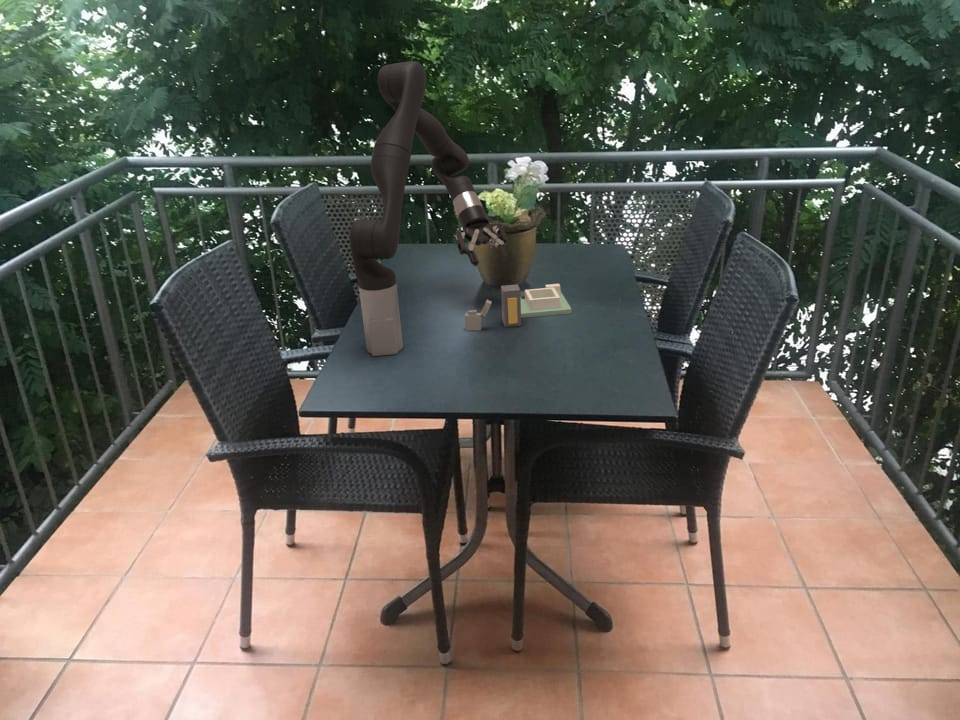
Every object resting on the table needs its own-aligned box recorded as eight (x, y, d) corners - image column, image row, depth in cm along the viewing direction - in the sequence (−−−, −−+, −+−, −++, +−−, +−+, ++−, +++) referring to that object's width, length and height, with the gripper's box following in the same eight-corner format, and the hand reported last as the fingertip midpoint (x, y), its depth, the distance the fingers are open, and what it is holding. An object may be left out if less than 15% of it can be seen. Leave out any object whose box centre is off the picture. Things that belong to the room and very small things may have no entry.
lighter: (465, 330, 204) (464, 302, 201) (466, 328, 206) (464, 300, 202) (492, 329, 204) (491, 301, 200) (492, 327, 205) (491, 299, 202)
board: (571, 313, 211) (571, 298, 209) (521, 317, 210) (520, 303, 208) (559, 293, 226) (559, 279, 224) (512, 297, 225) (511, 284, 223)
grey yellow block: (521, 326, 205) (520, 290, 201) (504, 327, 205) (503, 292, 200) (518, 319, 209) (517, 284, 205) (502, 320, 209) (500, 285, 205)
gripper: (450, 208, 209) (471, 259, 204) (496, 200, 214) (518, 250, 209) (443, 223, 215) (463, 273, 211) (489, 215, 221) (509, 263, 216)
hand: (490, 261), depth 210 cm, fingers open, 8 cm apart
